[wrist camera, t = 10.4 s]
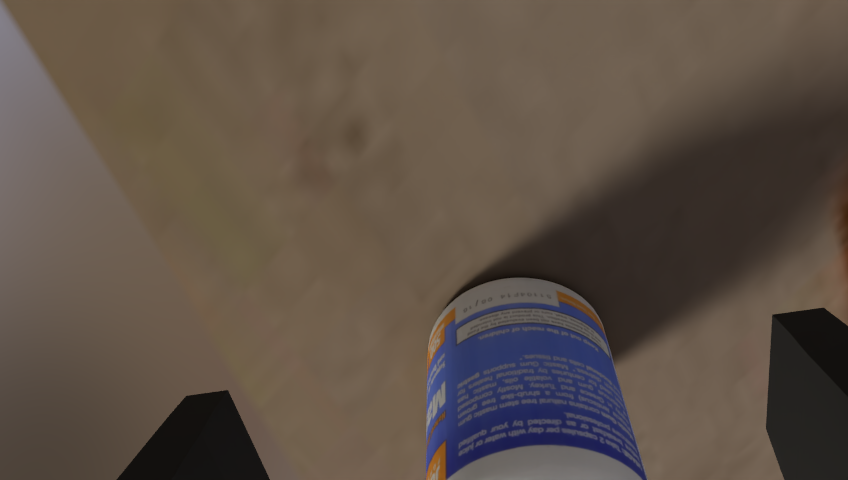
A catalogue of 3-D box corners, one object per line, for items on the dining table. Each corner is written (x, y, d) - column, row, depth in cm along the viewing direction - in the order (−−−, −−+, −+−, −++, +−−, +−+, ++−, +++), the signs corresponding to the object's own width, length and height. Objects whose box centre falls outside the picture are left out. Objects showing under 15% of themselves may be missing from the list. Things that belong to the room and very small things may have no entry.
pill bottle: (403, 297, 22) (380, 614, 14) (585, 249, 21) (672, 563, 13) (458, 421, 25) (466, 747, 17) (622, 385, 24) (713, 713, 16)
